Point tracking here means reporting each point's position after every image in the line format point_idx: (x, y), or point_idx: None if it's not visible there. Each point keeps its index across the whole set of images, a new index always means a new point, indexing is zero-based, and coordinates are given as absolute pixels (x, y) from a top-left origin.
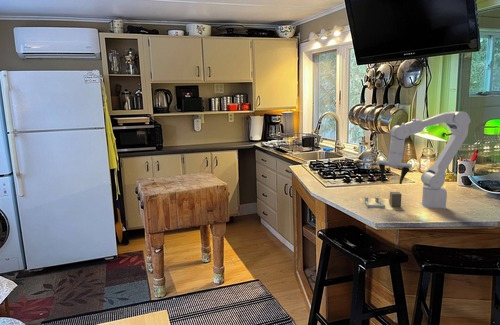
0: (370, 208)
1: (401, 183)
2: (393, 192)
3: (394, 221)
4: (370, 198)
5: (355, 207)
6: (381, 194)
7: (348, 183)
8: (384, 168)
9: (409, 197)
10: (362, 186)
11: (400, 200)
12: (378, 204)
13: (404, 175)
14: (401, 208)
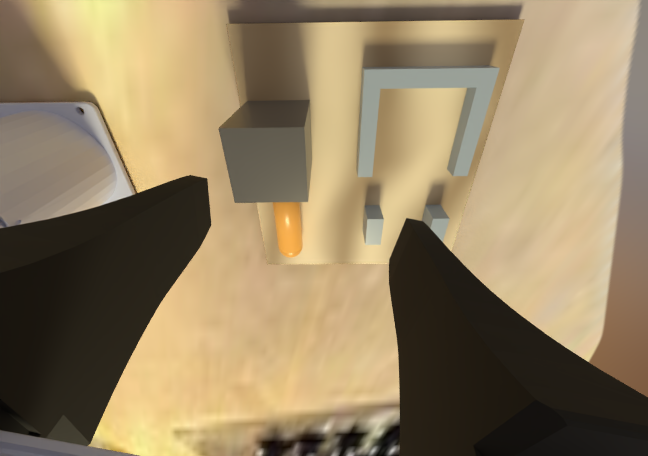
0: (477, 41)
1: (182, 177)
2: (283, 184)
3: None
4: (387, 262)
5: (550, 99)
6: (310, 328)
7: (398, 419)
8: (530, 382)
9: (191, 299)
10: (359, 398)
11: (240, 112)
12: (381, 154)
13: (54, 220)
14: (245, 65)
